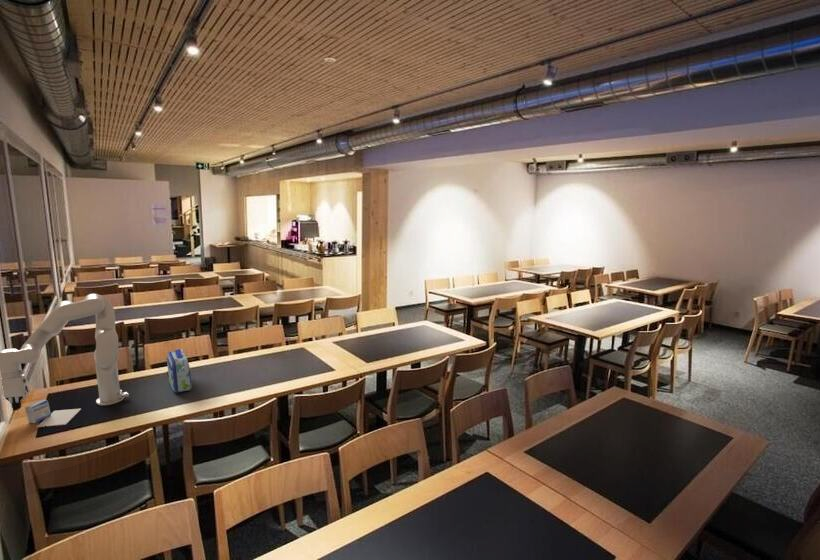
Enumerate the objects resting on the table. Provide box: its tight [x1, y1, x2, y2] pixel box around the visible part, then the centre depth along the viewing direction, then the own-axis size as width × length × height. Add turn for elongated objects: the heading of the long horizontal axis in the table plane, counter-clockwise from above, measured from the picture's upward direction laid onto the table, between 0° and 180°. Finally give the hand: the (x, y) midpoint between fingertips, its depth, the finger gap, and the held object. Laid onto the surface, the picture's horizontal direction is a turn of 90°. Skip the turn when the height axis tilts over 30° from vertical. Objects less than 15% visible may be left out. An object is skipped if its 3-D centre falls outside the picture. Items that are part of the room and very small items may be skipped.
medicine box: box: [24, 399, 52, 424], centre depth 214 cm, size 8×4×9 cm, turn 168°
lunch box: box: [166, 348, 193, 394], centre depth 253 cm, size 26×11×21 cm, turn 35°
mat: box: [36, 408, 82, 428], centre depth 217 cm, size 12×16×1 cm
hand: (17, 409), depth 211 cm, fingers closed
